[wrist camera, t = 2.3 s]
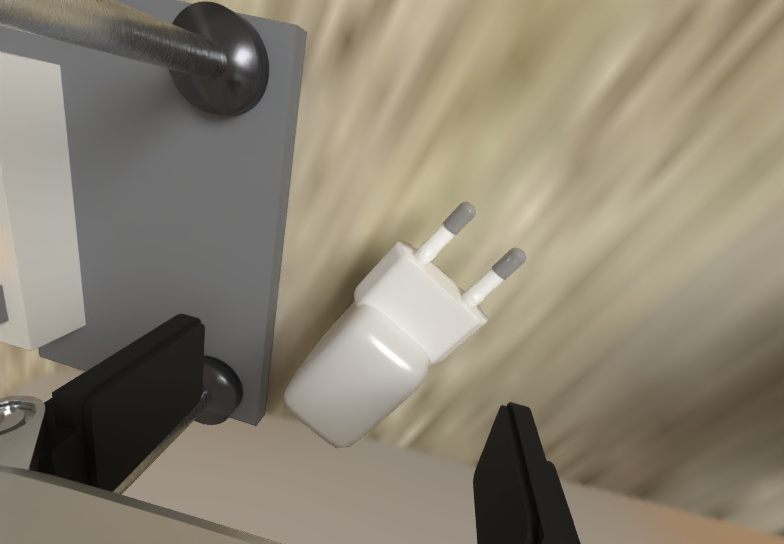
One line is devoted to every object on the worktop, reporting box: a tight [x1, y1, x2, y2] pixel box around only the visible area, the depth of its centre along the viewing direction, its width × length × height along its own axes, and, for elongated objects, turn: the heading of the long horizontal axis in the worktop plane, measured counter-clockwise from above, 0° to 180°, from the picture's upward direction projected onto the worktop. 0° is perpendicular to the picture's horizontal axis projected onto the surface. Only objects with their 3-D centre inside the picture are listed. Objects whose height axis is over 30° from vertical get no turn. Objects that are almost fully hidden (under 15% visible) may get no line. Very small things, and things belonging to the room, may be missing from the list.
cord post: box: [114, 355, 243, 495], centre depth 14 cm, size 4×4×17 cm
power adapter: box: [283, 202, 526, 448], centre depth 16 cm, size 11×5×6 cm, turn 140°
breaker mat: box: [0, 0, 307, 426], centre depth 18 cm, size 15×21×5 cm
